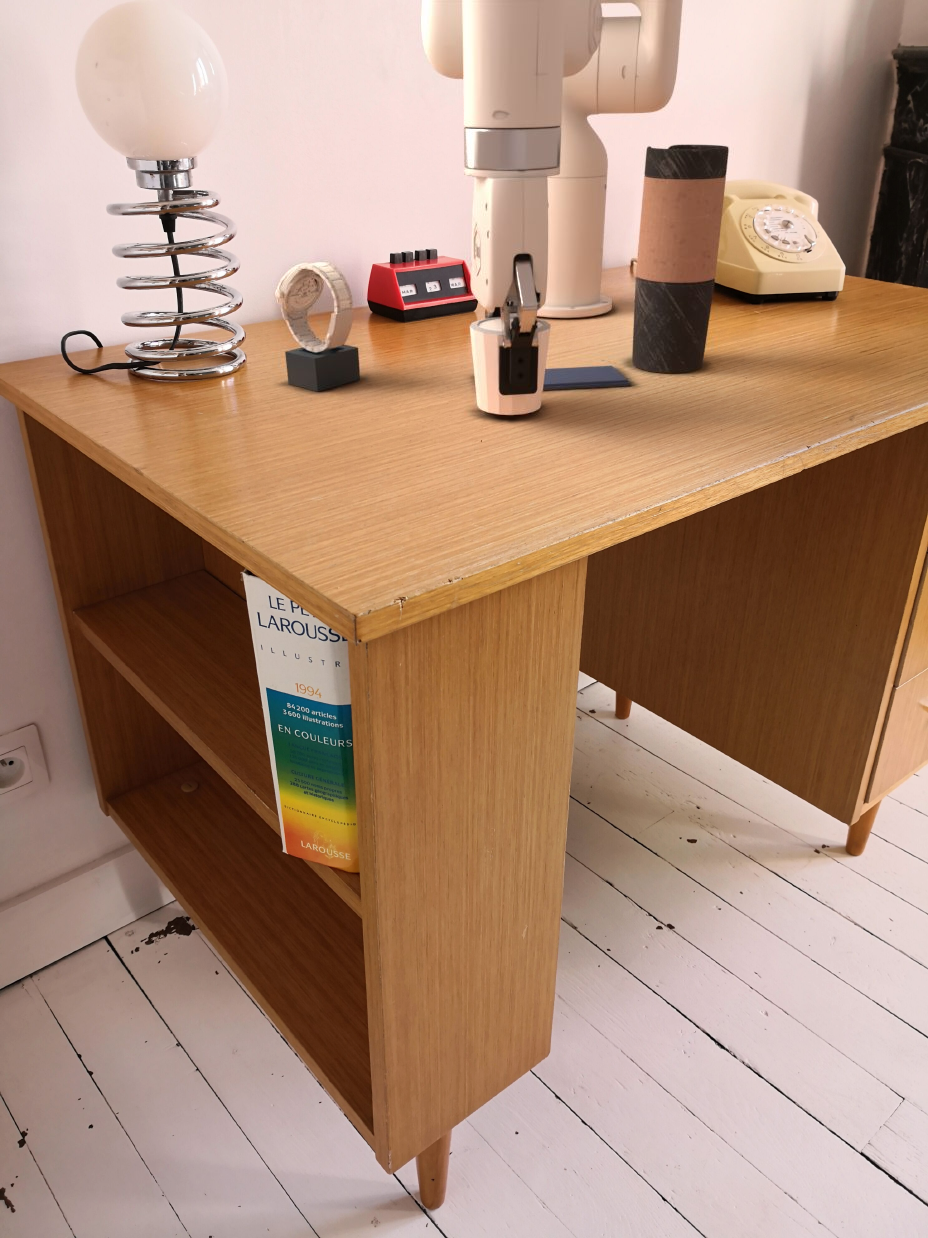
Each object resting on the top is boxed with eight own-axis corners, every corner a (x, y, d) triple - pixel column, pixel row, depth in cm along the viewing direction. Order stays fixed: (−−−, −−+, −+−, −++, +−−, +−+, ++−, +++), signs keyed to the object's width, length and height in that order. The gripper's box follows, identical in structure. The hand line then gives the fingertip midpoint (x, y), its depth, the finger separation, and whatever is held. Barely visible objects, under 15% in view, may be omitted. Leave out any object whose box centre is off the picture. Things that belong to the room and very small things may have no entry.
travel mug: (705, 375, 93) (732, 148, 83) (627, 372, 95) (644, 148, 85) (704, 356, 100) (728, 144, 90) (631, 353, 101) (647, 144, 91)
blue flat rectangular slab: (476, 376, 94) (476, 371, 94) (613, 369, 96) (613, 364, 95) (486, 393, 89) (486, 387, 88) (630, 385, 90) (631, 380, 90)
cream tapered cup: (513, 422, 79) (515, 337, 76) (454, 406, 83) (452, 324, 80) (564, 403, 84) (567, 322, 80) (505, 389, 88) (505, 311, 84)
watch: (318, 368, 97) (308, 255, 92) (372, 382, 92) (365, 263, 87) (274, 380, 93) (262, 262, 88) (329, 395, 89) (319, 271, 83)
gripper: (450, 147, 81) (453, 358, 90) (482, 163, 66) (482, 413, 75) (536, 145, 82) (531, 354, 90) (587, 160, 67) (575, 408, 75)
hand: (509, 379), depth 82 cm, fingers closed on cream tapered cup, 6 cm apart
